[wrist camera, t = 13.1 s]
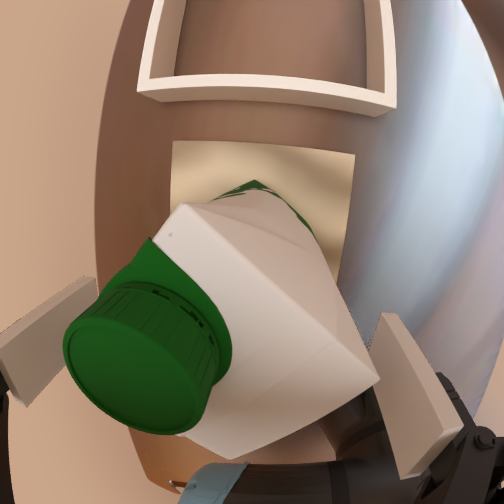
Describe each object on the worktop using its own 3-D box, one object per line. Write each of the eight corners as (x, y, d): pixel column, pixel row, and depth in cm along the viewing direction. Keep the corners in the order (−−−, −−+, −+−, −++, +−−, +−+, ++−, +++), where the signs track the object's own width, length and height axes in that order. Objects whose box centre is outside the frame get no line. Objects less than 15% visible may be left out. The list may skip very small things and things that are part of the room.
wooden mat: (326, 315, 28) (328, 320, 27) (175, 298, 29) (172, 302, 28) (352, 155, 23) (355, 155, 22) (176, 141, 24) (173, 140, 23)
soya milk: (253, 164, 23) (137, 168, 4) (328, 236, 24) (428, 424, 5) (189, 235, 25) (32, 383, 7) (260, 299, 27) (225, 506, 8)
